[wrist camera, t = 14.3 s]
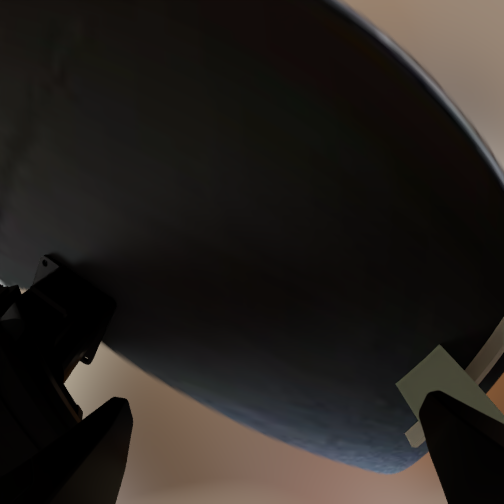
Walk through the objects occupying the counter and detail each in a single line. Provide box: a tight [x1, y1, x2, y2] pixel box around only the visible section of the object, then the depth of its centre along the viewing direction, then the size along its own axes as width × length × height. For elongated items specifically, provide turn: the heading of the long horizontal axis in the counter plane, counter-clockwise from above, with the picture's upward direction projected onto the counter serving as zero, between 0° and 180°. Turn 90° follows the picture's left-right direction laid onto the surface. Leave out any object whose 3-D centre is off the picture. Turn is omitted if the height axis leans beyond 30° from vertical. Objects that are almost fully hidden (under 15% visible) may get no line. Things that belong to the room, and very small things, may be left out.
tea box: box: [396, 344, 504, 426], centre depth 17 cm, size 5×5×12 cm
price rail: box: [405, 317, 504, 448], centre depth 22 cm, size 17×2×2 cm, turn 147°
